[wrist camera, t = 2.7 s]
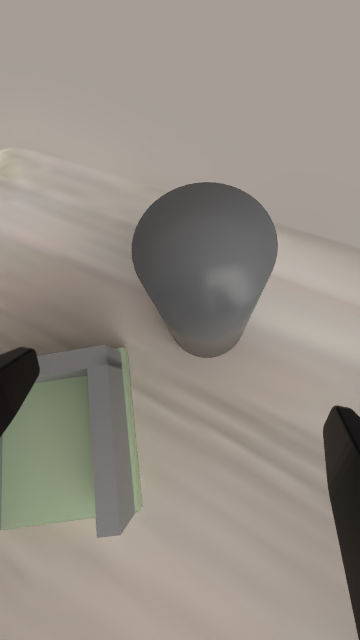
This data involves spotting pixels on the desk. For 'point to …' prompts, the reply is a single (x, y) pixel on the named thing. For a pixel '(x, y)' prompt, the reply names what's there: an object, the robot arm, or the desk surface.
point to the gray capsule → (205, 262)
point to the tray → (73, 445)
